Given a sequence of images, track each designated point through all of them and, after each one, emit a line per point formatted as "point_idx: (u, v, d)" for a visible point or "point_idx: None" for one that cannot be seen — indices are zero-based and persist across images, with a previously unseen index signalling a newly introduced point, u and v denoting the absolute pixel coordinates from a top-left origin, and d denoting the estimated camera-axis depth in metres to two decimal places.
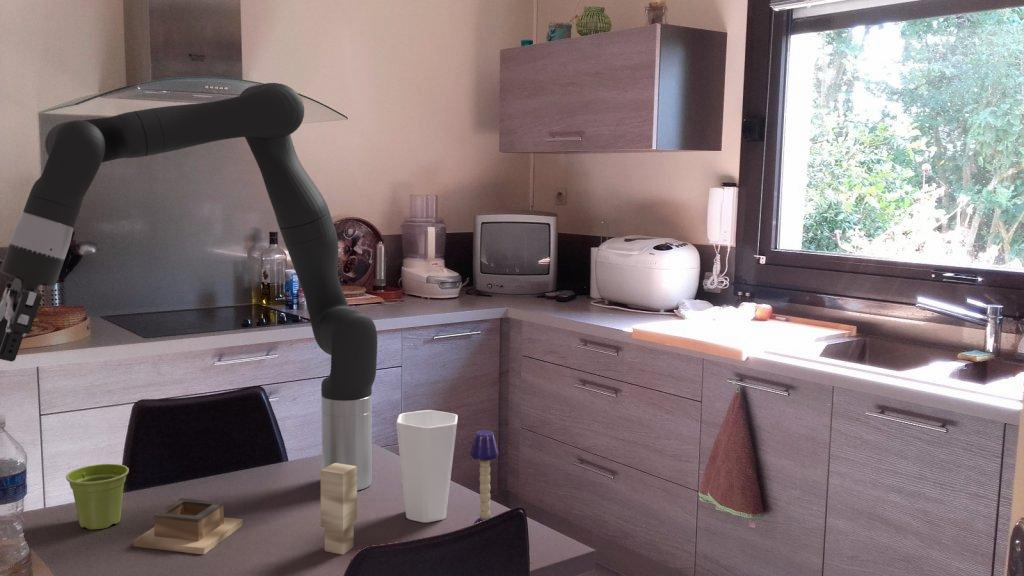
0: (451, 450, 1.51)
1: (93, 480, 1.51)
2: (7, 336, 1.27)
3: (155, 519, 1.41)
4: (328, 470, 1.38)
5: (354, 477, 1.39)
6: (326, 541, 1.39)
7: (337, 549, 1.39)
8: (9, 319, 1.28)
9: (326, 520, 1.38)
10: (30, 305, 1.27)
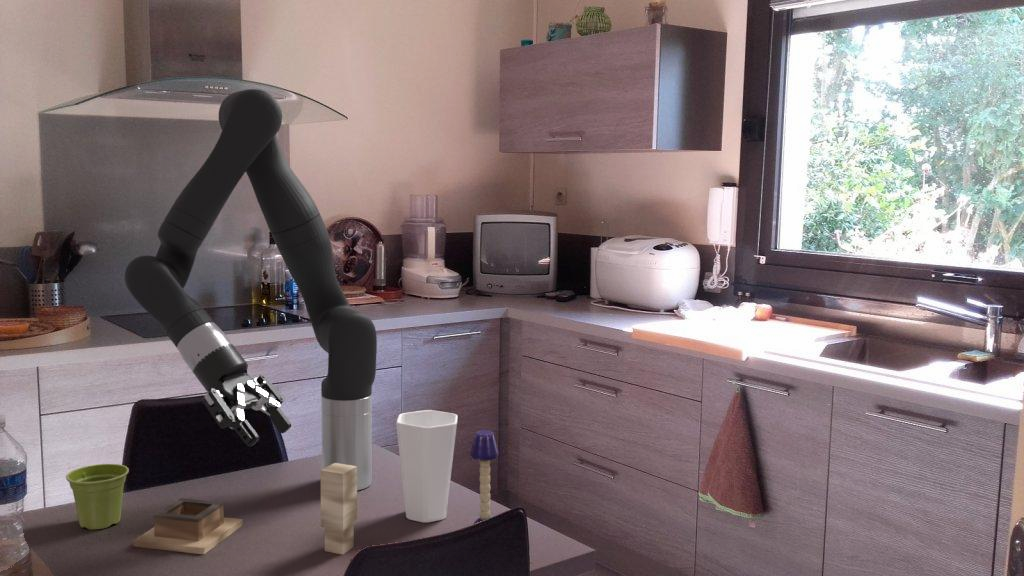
0: (451, 450, 1.51)
1: (93, 480, 1.51)
2: None
3: (155, 519, 1.41)
4: (328, 470, 1.38)
5: (354, 477, 1.39)
6: (326, 541, 1.39)
7: (337, 549, 1.39)
8: None
9: (326, 520, 1.38)
10: (213, 402, 1.38)
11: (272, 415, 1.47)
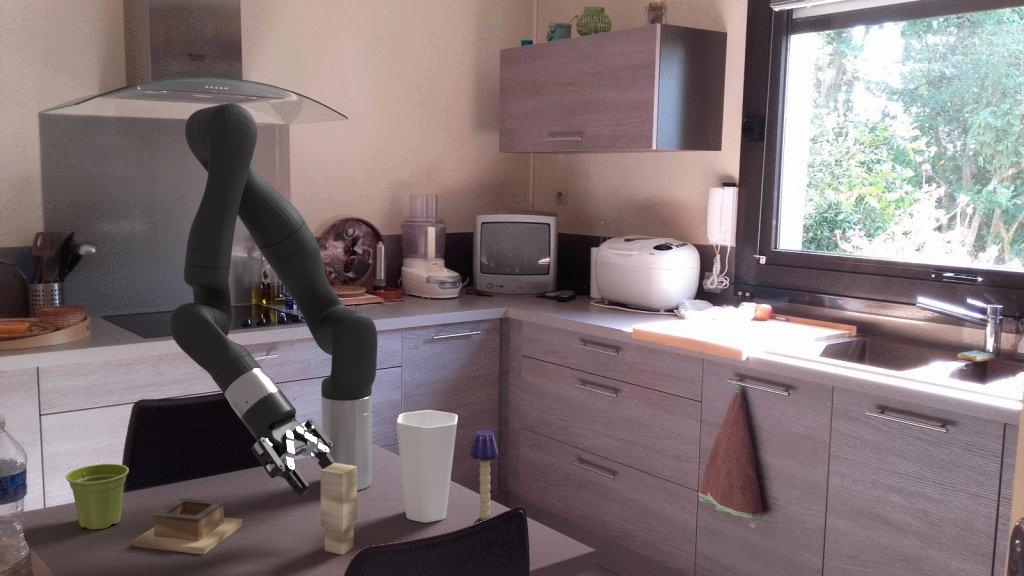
0: (451, 450, 1.51)
1: (93, 480, 1.51)
2: None
3: (155, 519, 1.41)
4: (328, 470, 1.38)
5: (354, 477, 1.39)
6: (326, 541, 1.39)
7: (337, 549, 1.39)
8: None
9: (326, 520, 1.38)
10: (263, 452, 1.35)
11: (321, 461, 1.44)
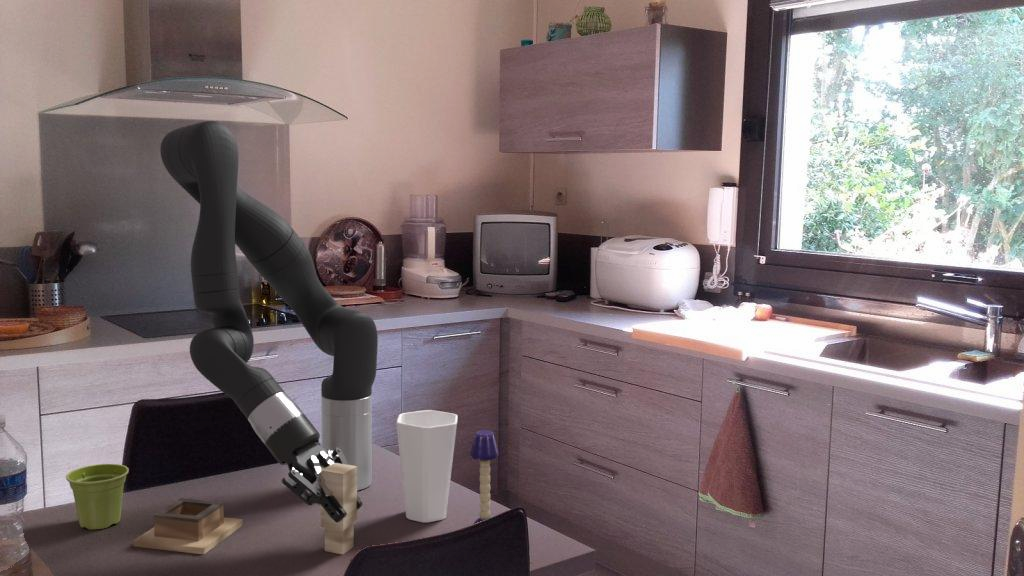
0: (451, 450, 1.51)
1: (93, 480, 1.51)
2: None
3: (155, 519, 1.41)
4: (328, 470, 1.38)
5: (354, 477, 1.39)
6: (326, 541, 1.39)
7: (337, 549, 1.39)
8: None
9: (326, 520, 1.38)
10: (296, 483, 1.35)
11: None
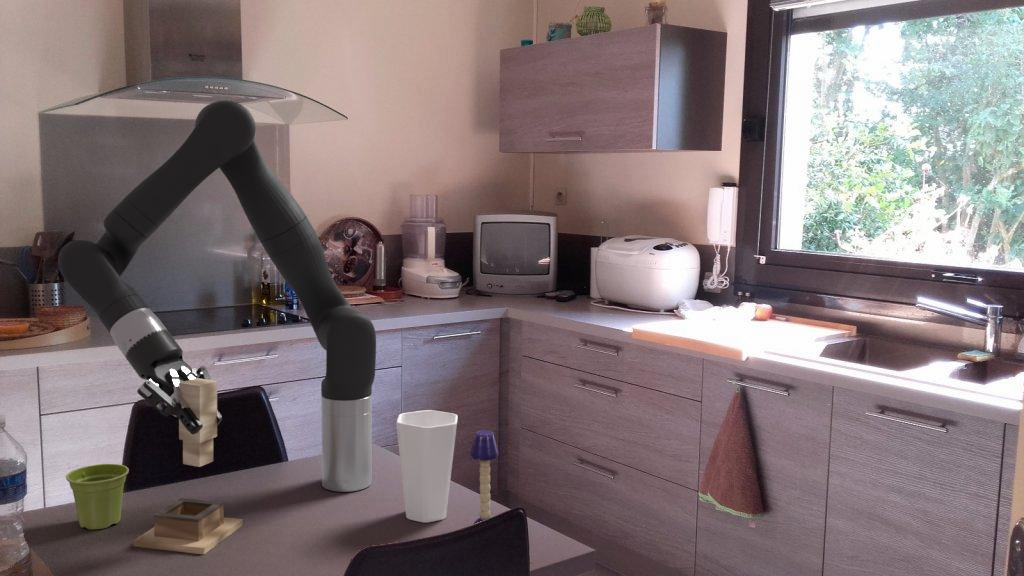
0: (451, 450, 1.51)
1: (93, 480, 1.51)
2: None
3: (155, 519, 1.41)
4: (186, 383, 1.39)
5: (214, 391, 1.41)
6: (184, 454, 1.41)
7: (194, 462, 1.40)
8: None
9: (184, 432, 1.40)
10: (151, 394, 1.36)
11: None
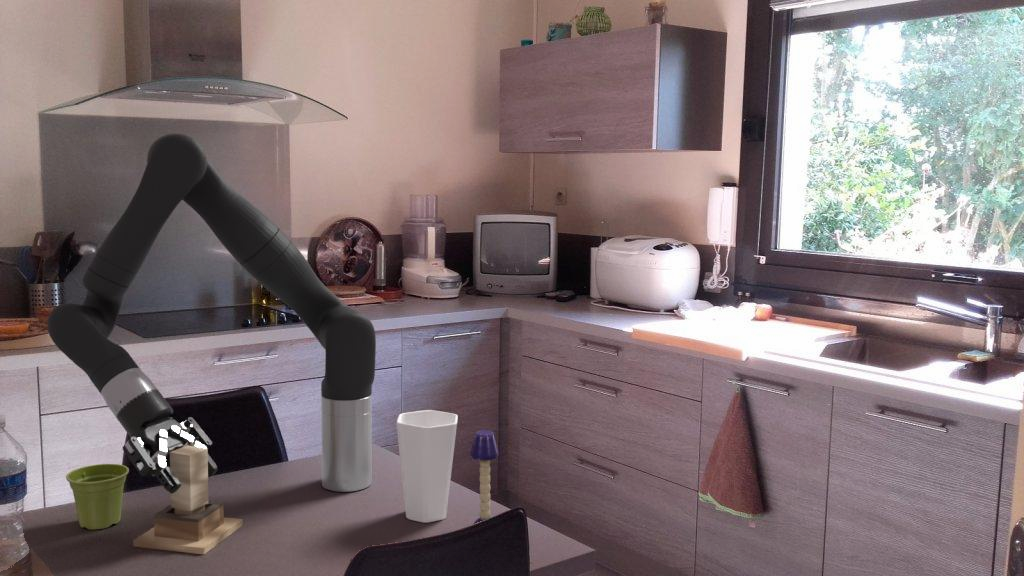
0: (451, 450, 1.51)
1: (93, 480, 1.51)
2: None
3: (155, 519, 1.41)
4: (177, 452, 1.42)
5: (204, 459, 1.43)
6: None
7: None
8: None
9: (175, 501, 1.42)
10: (133, 451, 1.38)
11: None
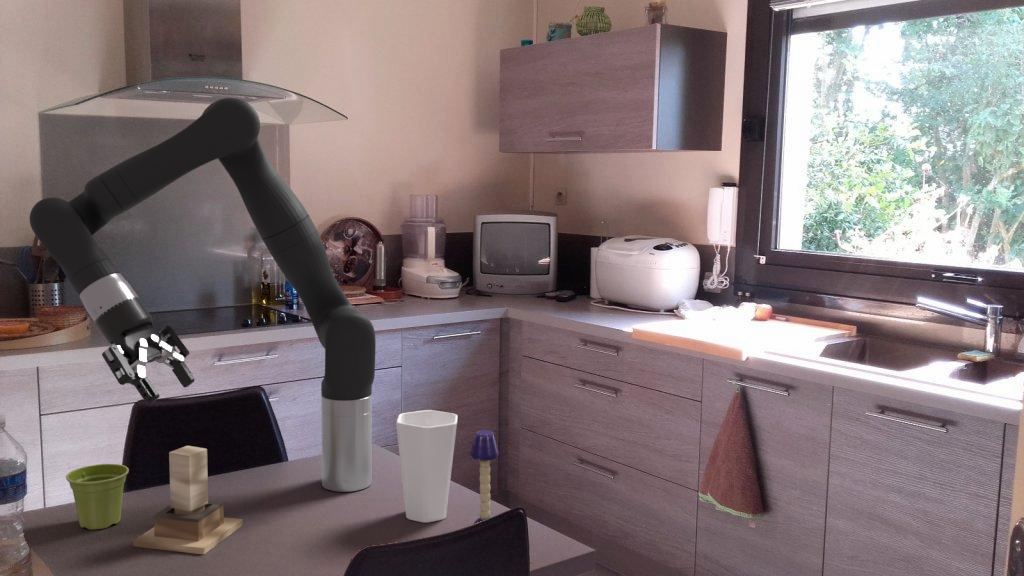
0: (451, 450, 1.51)
1: (93, 480, 1.51)
2: None
3: (155, 519, 1.41)
4: (176, 452, 1.42)
5: (204, 459, 1.43)
6: None
7: None
8: None
9: (175, 501, 1.42)
10: (113, 359, 1.37)
11: (175, 369, 1.47)
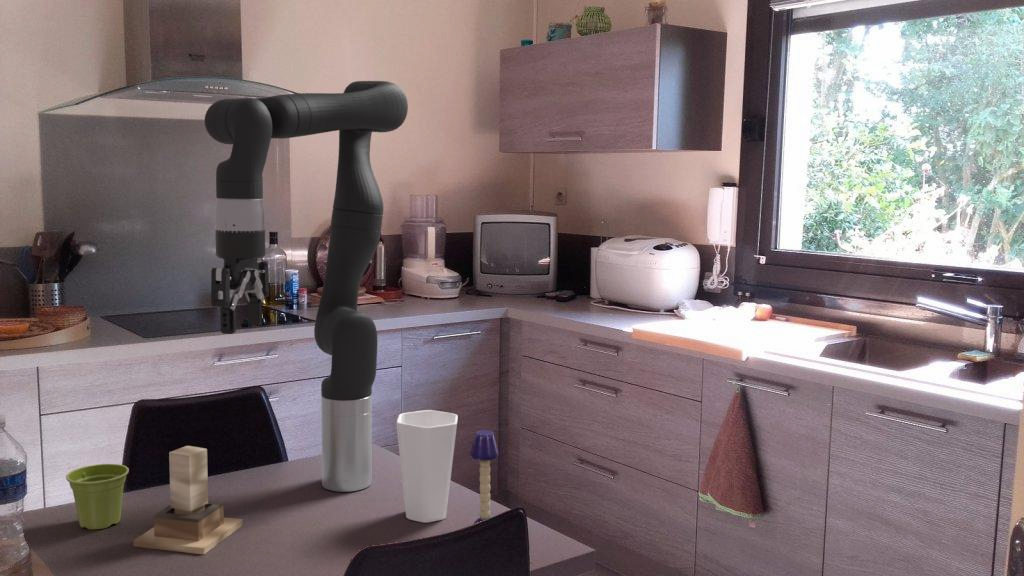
0: (451, 450, 1.51)
1: (93, 480, 1.51)
2: None
3: (155, 519, 1.41)
4: (176, 452, 1.42)
5: (204, 459, 1.43)
6: None
7: None
8: None
9: (175, 501, 1.42)
10: (220, 281, 1.36)
11: (251, 304, 1.47)
